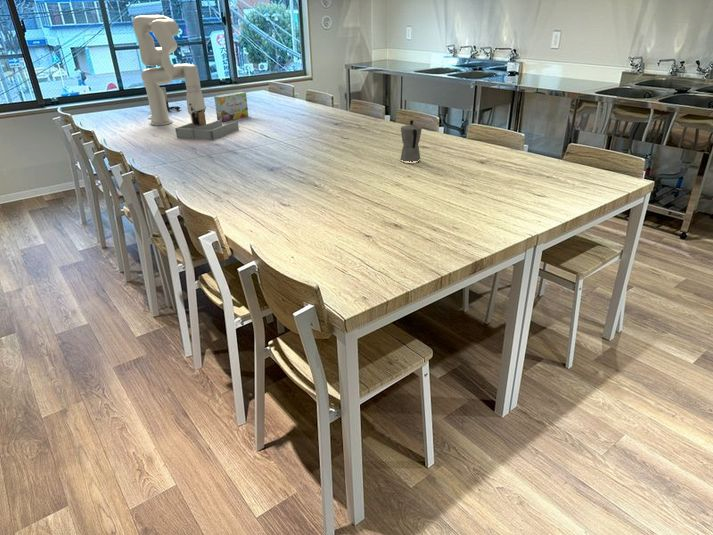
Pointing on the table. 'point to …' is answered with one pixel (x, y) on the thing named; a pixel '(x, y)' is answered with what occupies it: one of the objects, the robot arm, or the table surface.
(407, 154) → the coffeepot
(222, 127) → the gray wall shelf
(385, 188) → the table surface
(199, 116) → the walnut block
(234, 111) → the snack box
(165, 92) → the milk frother
